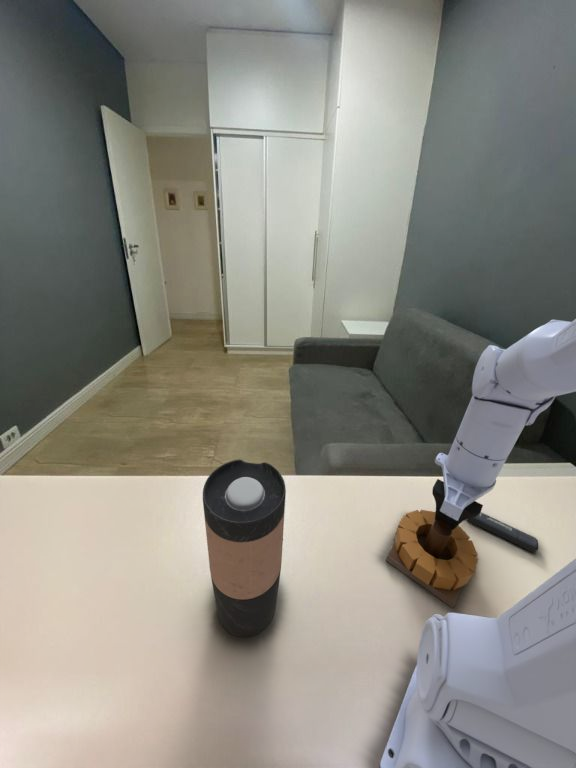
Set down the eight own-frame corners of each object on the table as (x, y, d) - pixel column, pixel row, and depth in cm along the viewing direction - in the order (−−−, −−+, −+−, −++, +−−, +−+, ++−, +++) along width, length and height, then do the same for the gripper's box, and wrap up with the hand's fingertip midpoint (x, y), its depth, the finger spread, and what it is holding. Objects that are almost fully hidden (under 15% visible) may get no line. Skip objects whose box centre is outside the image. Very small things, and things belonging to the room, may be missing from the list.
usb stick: (535, 542, 47) (539, 536, 46) (535, 556, 45) (540, 549, 44) (467, 510, 51) (470, 504, 51) (464, 521, 50) (467, 515, 49)
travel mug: (236, 658, 33) (228, 542, 23) (203, 596, 38) (186, 480, 28) (291, 608, 37) (304, 493, 27) (255, 559, 42) (256, 447, 32)
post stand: (452, 608, 38) (471, 578, 35) (385, 560, 43) (396, 529, 40) (469, 555, 44) (487, 526, 41) (409, 519, 49) (420, 489, 46)
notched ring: (460, 607, 37) (467, 597, 36) (383, 554, 43) (387, 543, 41) (477, 548, 44) (484, 538, 43) (409, 509, 50) (413, 498, 48)
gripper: (462, 407, 44) (434, 474, 51) (428, 458, 35) (400, 534, 41) (519, 428, 41) (481, 498, 47) (499, 492, 31) (455, 569, 38)
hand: (447, 517), depth 44 cm, fingers open, 4 cm apart
